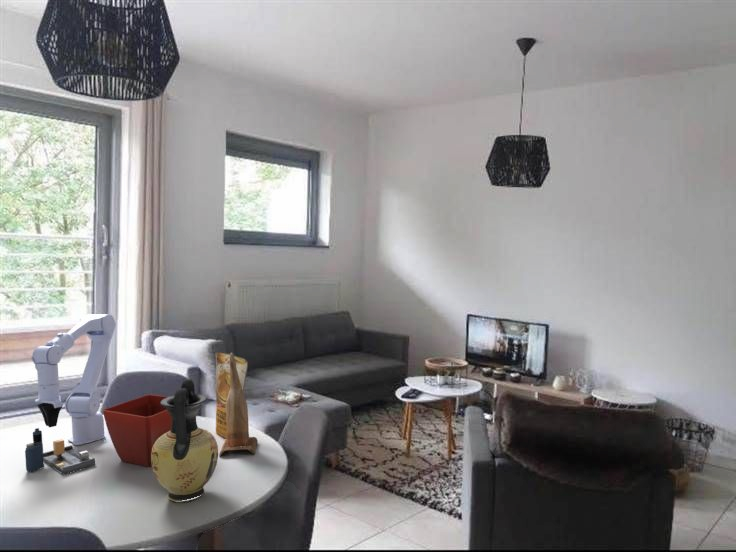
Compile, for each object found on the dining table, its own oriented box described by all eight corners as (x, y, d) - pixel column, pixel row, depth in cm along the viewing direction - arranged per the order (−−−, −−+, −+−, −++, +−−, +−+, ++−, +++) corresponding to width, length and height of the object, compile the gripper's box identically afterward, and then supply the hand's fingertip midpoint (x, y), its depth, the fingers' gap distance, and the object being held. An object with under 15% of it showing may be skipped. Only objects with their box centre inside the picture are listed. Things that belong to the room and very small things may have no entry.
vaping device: (46, 466, 172) (43, 427, 171) (30, 473, 167) (28, 433, 166) (39, 465, 173) (37, 427, 172) (24, 472, 168) (21, 432, 167)
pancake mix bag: (226, 426, 205) (223, 350, 203) (252, 439, 191) (249, 357, 189) (209, 430, 201) (205, 353, 199) (234, 444, 186) (231, 361, 185)
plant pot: (196, 450, 182) (193, 399, 181) (150, 473, 165) (147, 417, 164) (151, 443, 190) (149, 393, 189) (104, 464, 173) (100, 410, 172)
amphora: (220, 504, 144) (215, 389, 142) (150, 515, 140) (144, 395, 138) (218, 477, 161) (214, 373, 159) (155, 485, 157) (150, 379, 154)
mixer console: (72, 451, 184) (71, 439, 184) (95, 465, 172) (94, 452, 172) (41, 459, 178) (40, 447, 177) (63, 474, 166) (63, 461, 165)
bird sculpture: (257, 443, 188) (253, 347, 187) (255, 455, 177) (251, 353, 176) (223, 446, 187) (218, 350, 186) (219, 458, 175) (214, 356, 174)
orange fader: (62, 454, 178) (61, 439, 178) (65, 455, 177) (64, 440, 177) (53, 456, 176) (53, 441, 176) (56, 458, 175) (55, 442, 175)
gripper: (26, 382, 181) (29, 424, 182) (43, 390, 171) (45, 434, 172) (50, 378, 186) (53, 418, 187) (67, 385, 176) (70, 427, 177)
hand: (51, 425), depth 180 cm, fingers closed
